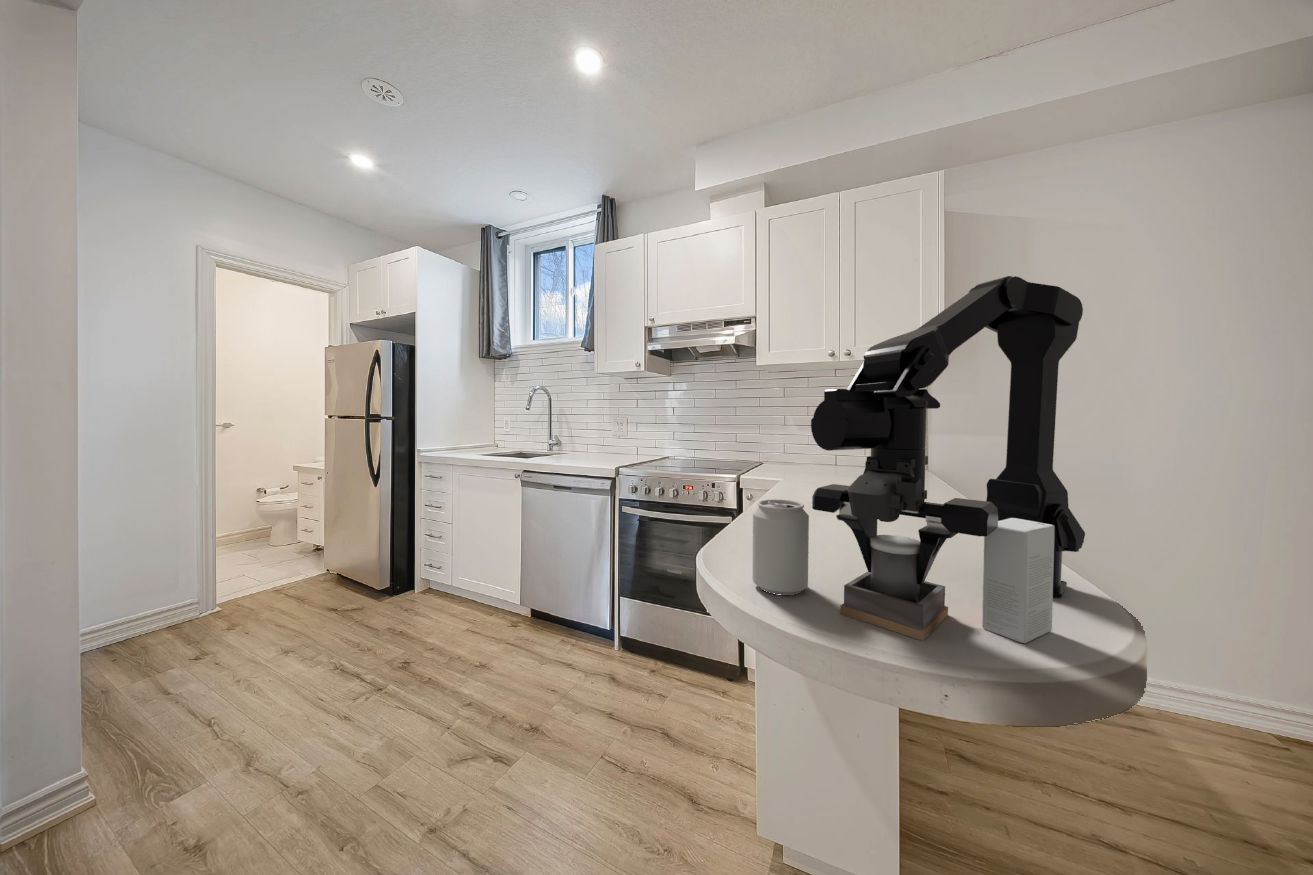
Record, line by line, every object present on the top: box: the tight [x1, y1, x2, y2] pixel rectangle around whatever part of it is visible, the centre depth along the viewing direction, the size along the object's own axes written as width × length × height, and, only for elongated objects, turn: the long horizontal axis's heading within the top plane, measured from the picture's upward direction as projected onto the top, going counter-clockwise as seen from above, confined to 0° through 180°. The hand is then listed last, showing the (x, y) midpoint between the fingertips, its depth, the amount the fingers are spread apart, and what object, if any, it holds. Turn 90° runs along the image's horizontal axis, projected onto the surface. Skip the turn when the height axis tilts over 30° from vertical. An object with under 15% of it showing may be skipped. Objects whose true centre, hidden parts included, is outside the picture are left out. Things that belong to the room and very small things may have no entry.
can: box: [751, 498, 810, 596], centre depth 62 cm, size 8×8×12 cm
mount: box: [839, 571, 949, 642], centre depth 54 cm, size 9×9×4 cm
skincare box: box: [981, 518, 1054, 644], centre depth 49 cm, size 6×4×12 cm
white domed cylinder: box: [871, 534, 920, 604], centre depth 53 cm, size 5×5×7 cm
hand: (894, 577), depth 54 cm, fingers closed on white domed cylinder, 5 cm apart
